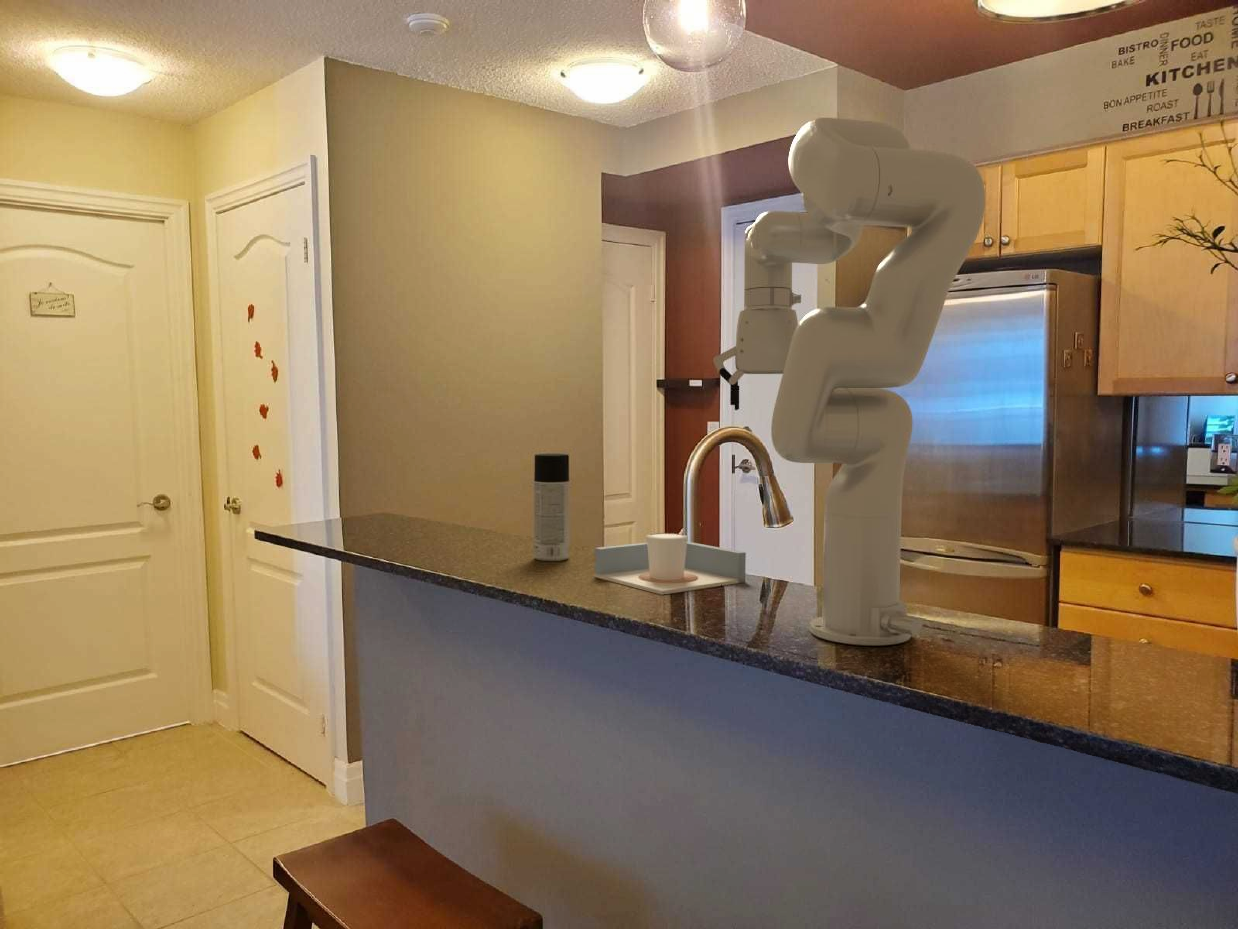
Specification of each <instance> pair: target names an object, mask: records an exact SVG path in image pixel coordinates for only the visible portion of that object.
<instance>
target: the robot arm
mask: <svg viewBox="0 0 1238 929" xmlns="http://www.w3.org/2000/svg"><path fill="white" fill-rule="evenodd" d="M788 169H789V173H790V174H789V175H790V176H791V177H790V178H791V180H792V182H793V183H794V185H795V187H797V189H798V190H799V192H800V193H801V200H802V205H803V206H804V209H805V211H806V212H805V211H803V212H802V211H785V210H767V211H764V212H763V213H761V214H759V216H758V217H757V218H756V219H755V222H753V224H751V225H750V226H748V227H747V228H746V230H745V231H744V271H743V272H744V281H743V282H744V283H743V284H744V285H743V286H744V291H743V296H744V297H743V298H744V299H743V300H744V301H743V303H744V304H743V306H744V307H743V310H740V311H739V314H738V318H737V325H736V335H735V346H734V347H732V348H729V349H728V350H725V351H724V352H722V353H720V354H718V355H716V356H714V357H713V359H712V361H713V364H714V365H715V368H716V369H717V372H718V373H719V375H720V376H721V378H723V379H724V380H725V381H726V382H727V383H728V384H729V386H730V390H729V391H730V392H729V393H730V397H729V403H730V404H729V405H730V406H734V411H738V410H740V385H739V381H740V379H741V378H742V377H743V376H744V375H745V374H746V375H781V379H780V383H779V386H778V391H777V395H776V398H775V403H774V408H773V411H772V417H771V426H770V428H771V434H770V436H771V442H772V445H773V447H774V450H775V452H776V453H777V454H778V455H779V456H780V457H781V459H783V460H785V461H789V462H791V463H797V464H798V463H801V464H841V465H840V467H839V469H838V471H837V472H836V473H835V475H834V477H833V478H832V480H831V481H830V482H829V485H828V488H827V490H826V493H825V496H824V497H825V498H824V513H823V515H824V516H823V552H822V553H823V554H822V555H823V559H822V560H823V561H822V563H823V564H822V567H823V568H822V598H821V599H822V600H821V601H822V604H821V605H822V607H821V612H822V613H821V616H818V617H816V618H813V619H812V620H810V622H809V632H810V633H811V634H813V635H814V636H815V637H818V638H820V639H822V640H825V641H830V642H835V643H841V644H847V645H853V646H854V645H855V646H873V647H874V646H890V645H891V646H892V645H898V644H901V643H905V642H908V641H909V640H911V638H912V636H917V635H919V633H920V631H921V628H922V627H923V626H924V618H922V617H919V616H914V615H908V613H907V603H906V602H901V601H900V586H901V585H900V584H901V583H900V582H901V581H900V580H901V579H900V578H901V575H900V573H901V549H902V548H901V545H902V543H901V542H902V538H901V537H902V514H903V513H902V512H903V510H902V508H903V506H902V505H903V487H904V486H903V485H904V474H905V468H906V462H907V455H908V451H909V447H910V443H911V440H912V439H911V438H912V432H913V422H914V421H913V414H912V410H911V407H910V406H909V403H908V402H907V400H906V399H905V398H904V397H902V395H900V394H899V393H897V392H895V391H893V390H890V389H891V388H900V387H904V386H906V385H909V384H910V383H911V382H913V381H914V380H915V378H916V377H917V376H918V374H919V373H920V371H921V369H922V367H923V364H924V361H925V360H926V357H927V354H928V350H929V348H930V345H931V342H932V340H933V337H934V335H935V331H936V328H937V325H938V323H939V320H940V318H941V314H942V311H943V308H944V306H945V303H946V299H947V296H948V294H949V291H950V288H951V287H952V284H953V282H954V279H955V278H956V276H957V275H958V272H959V270H960V269H961V267H962V265H963V264H964V262H965V260H966V259H967V257H968V256H969V253H970V252H971V249H972V248H973V246H974V244H975V242H976V240H977V238H978V235H979V232H980V230H981V227H982V224H983V219H984V216H985V210H986V209H985V208H986V189H985V184H984V180H983V177H982V175H981V173H980V171H979V169H978V168H977V166H975V165H974V164H973V163H972V162H970V161H969V160H967V159H965V158H963V157H962V156H961V157H960V156H958V155H955V154H952V153H947V152H941V151H934V150H925V149H913V148H912V149H911V145H910V142H909V140H908V138H907V137H906V136H905V134H904V133H903V132H902V131H901V130H899V129H898V128H897V127H896V126H893V125H891V124H888V123H884V122H881V121H880V122H879V121H872V120H860V119H858V120H857V119H848V118H836V117H818V118H815V119H812V120H811V121H808V122H807V123H806V124H804V125H803V126H802V127H801V128H800V130H799V131H798V132H797V134H796V136H795V137H794V139H793V141H792V143H791V146H790V150H789V155H788ZM864 226H876V227H889V228H890V227H897V228H910V229H911V232H910V233H909V235H908V236H906V237H905V238H904V239H902V240H900V241H899V243H897V244H896V245H894V247H893V248H892V249H891V250H890V251H889V252H888V253H887V254H886V256H885V257H884V258H883V259H882V261H881V262H880V263H879V264H878V266H877V268H876V269H875V272H874V274H873V277H872V280H871V285H870V288H869V290H868V294H867V296H866V299H865V301H864V302H863V303H862V304H860V305H859V306H856V307H854V306H853V307H851V306H825V307H819V308H815V309H813V310H811V311H810V312H808V313H807V314H806V315H805V316H804V317H803V318H802V319H800V321H798V314H797V310H795V309H792V308H793V306H794V305H796V304H801V303H802V294H797V293H794V292H793V264H794V263H795V264H796V263H797V264H809V265H810V264H812V265H814V264H815V265H827V264H831V263H834V262H836V261H838V260H840V259H841V258H843V257H845V256H846V255H847V254H848V253H850V252H851V251H852V250H853V249H854V248H855V247H856V245H858V243H859V241H860V238H861V236H862V233H863V231H864ZM798 322H799V323H798ZM731 358H735V359H734V364H735V372H734V373H732V374H731V372H729V371H728V370H727V369H726V367H725V365H724V362H727V360H729V359H731ZM888 388H889V389H888Z"/></svg>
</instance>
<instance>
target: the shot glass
mask: <svg viewBox="0 0 1238 929" xmlns="http://www.w3.org/2000/svg"><path fill="white" fill-rule="evenodd" d="M688 537H689V536H688V535H686V534H685V535H684V534H681V533H674V532H673V533H672V532H671V533H669V532H660V533H652V534H646V543H647V548H648V561H649V573H650V578H653V579H658V580H678V579H682V578H683V577H684V568H685V558H686V549H687V542H688Z"/></svg>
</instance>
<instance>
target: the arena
mask: <svg viewBox="0 0 1238 929" xmlns="http://www.w3.org/2000/svg"><path fill="white" fill-rule="evenodd" d="M746 558H747V553H746V551H740V550H735V549H729V548H723V547H718V546H713V545H708V544H703V543H702V544H701V543H697V542H692V541H687V549H686V558H685V568H684V577H683V578H682V579H678V580H658V579H653V578H650V573H649V561H648V548H647V542H640V543H631V544H630V543H629V544H620V545H619V544H618V545H611V546H600V547H594V577H595V578H597V579H602V580H605V581H608V582H612V583H617V584H620V585H624V586H628V587H631V588H635V589H639V590H643V591H646V592H649V593H650V592H651V593H654V594H658V595H662V596H664V595H667V594H669V595H670V594H677V593H682V592H689V591H697V590H701V589H702V590H703V589H710V588H716V587H721V585H722V587H723V586H729V585H734V584H735V585H736V584H742V583H746V563H747V562H746V560H747V559H746Z"/></svg>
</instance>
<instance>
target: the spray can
mask: <svg viewBox="0 0 1238 929" xmlns="http://www.w3.org/2000/svg"><path fill="white" fill-rule="evenodd" d="M533 478H534V480H533V482H534V483H533V484H534V485H533V487H534V488H533V492H534V494H533V495H534V497H533V498H534V499H533V500H534V502H533V508H534V510H533V511H534V514H533V517H534V518H533V520H534V521H533V523H534V527H533V528H534V529H533V531H534V534H533V535H534V538H533V540H534V543H533V544H534V545H533V548H534V549H533V551H534V552H533V554H534V555H533V556H534V559H535V560H536V561H541V562H560V561H561V562H563V561H565V560H568V559H569V556H570V456H569V454H567V453H537V454H535V455H534V477H533Z"/></svg>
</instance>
